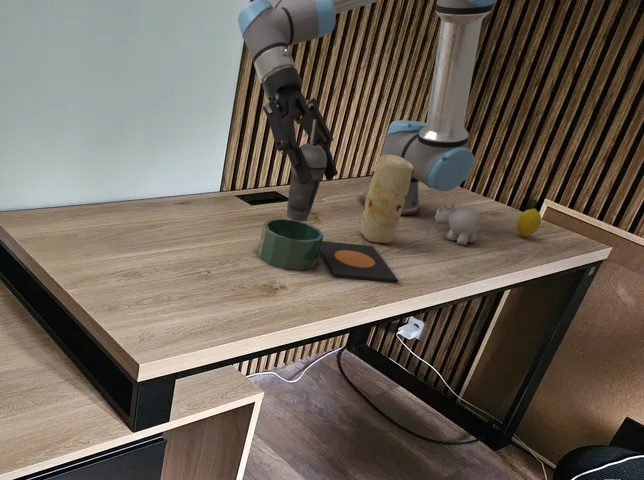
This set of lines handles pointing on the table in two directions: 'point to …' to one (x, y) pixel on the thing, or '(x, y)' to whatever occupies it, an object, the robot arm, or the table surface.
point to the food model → (386, 198)
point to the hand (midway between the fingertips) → (319, 178)
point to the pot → (290, 244)
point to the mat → (355, 262)
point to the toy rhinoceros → (460, 223)
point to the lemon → (528, 222)
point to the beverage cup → (305, 193)
